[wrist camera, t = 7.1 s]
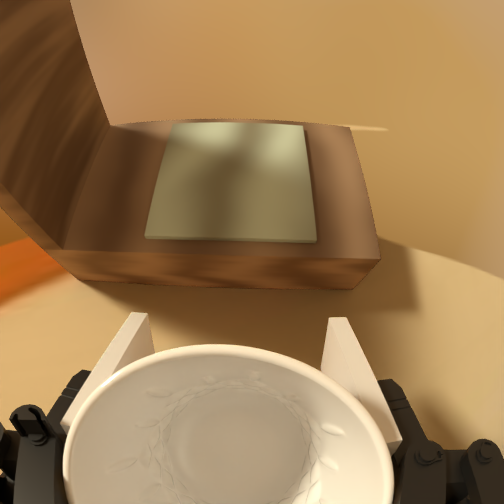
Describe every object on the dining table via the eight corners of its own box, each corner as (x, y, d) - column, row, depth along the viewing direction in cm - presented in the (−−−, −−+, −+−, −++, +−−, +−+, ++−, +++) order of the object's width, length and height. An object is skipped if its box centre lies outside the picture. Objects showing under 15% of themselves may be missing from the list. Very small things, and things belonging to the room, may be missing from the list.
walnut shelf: (334, 169, 30) (401, -57, 8) (352, 289, 24) (545, 10, 3) (110, 167, 30) (37, -37, 8) (77, 279, 24) (-102, 59, 2)
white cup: (326, 387, 15) (422, 371, 6) (294, 514, 11) (340, 618, 2) (183, 357, 16) (100, 304, 7) (152, 482, 12) (54, 551, 3)
